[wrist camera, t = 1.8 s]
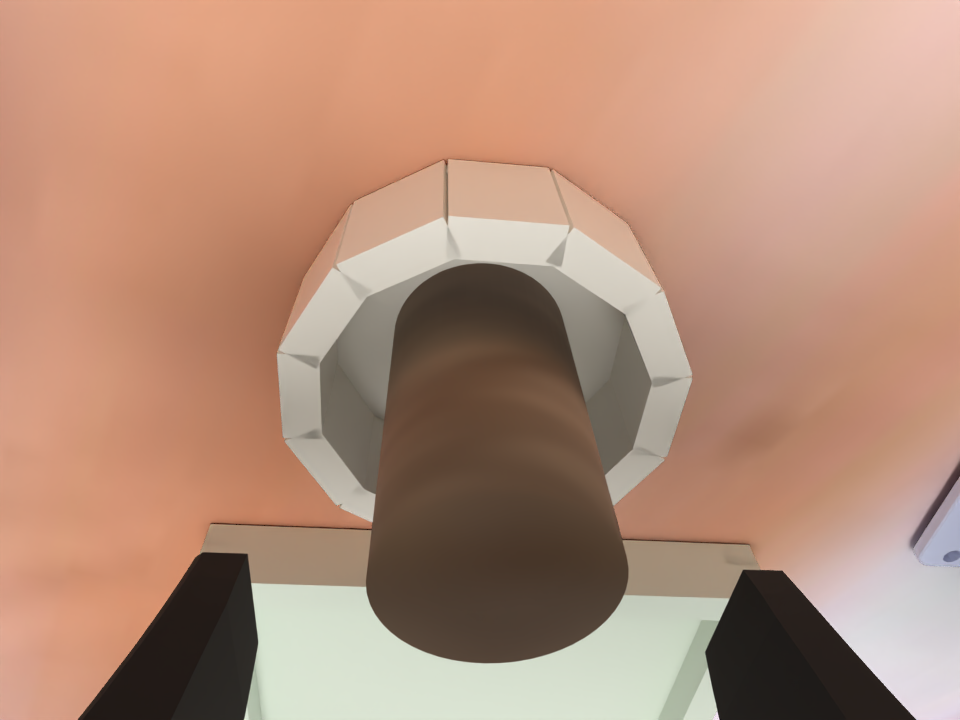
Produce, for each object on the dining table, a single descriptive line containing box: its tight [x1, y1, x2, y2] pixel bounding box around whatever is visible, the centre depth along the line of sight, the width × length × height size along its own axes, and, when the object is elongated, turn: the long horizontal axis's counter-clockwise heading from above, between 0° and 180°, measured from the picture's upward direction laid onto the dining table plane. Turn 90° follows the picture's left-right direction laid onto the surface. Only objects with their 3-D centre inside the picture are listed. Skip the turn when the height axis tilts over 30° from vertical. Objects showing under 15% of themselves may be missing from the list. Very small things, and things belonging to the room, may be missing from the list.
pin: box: [366, 263, 629, 663], centre depth 14 cm, size 4×4×7 cm
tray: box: [199, 524, 760, 720], centre depth 24 cm, size 16×16×2 cm
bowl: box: [277, 159, 693, 522], centre depth 16 cm, size 8×8×3 cm
